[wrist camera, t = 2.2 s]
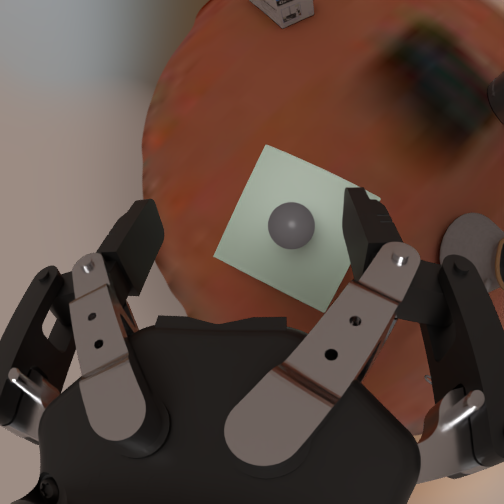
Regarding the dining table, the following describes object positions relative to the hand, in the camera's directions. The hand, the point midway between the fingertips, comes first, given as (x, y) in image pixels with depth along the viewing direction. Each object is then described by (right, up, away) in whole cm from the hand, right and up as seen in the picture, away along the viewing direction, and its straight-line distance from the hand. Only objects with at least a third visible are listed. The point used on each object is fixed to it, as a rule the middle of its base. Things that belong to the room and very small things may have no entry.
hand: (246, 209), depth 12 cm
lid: (+5, +1, +19) cm, 20 cm away
